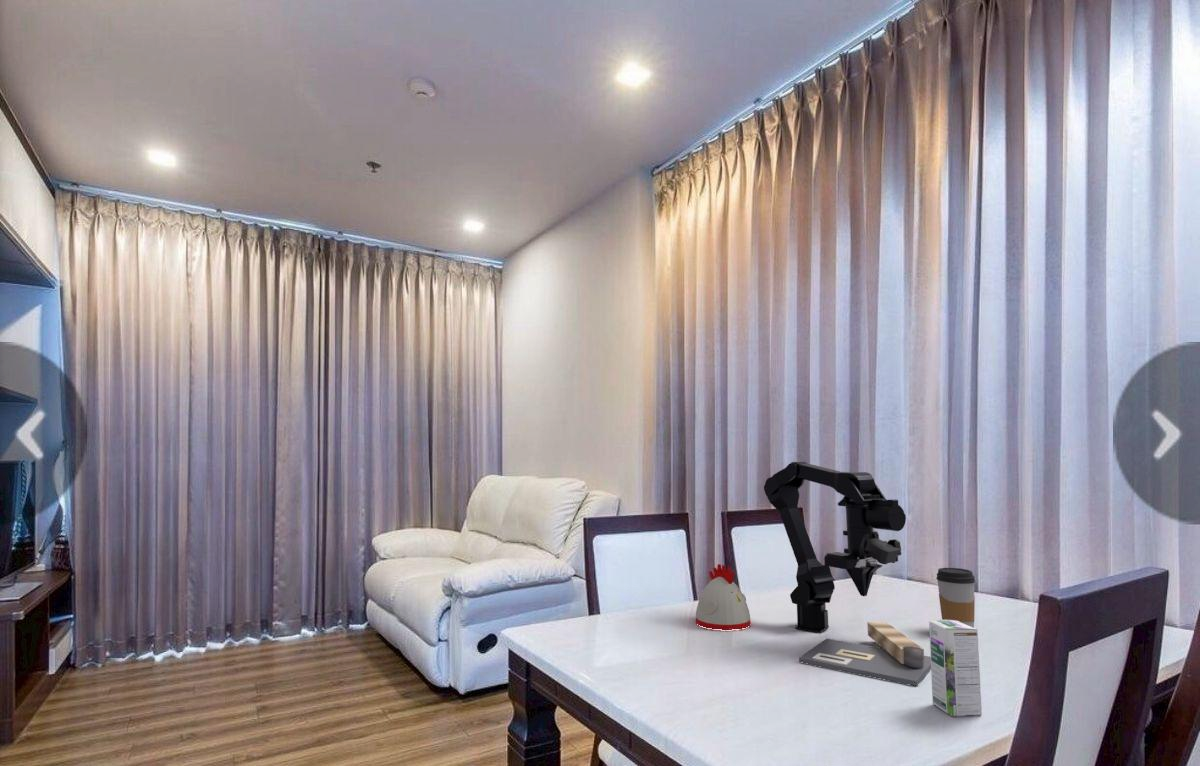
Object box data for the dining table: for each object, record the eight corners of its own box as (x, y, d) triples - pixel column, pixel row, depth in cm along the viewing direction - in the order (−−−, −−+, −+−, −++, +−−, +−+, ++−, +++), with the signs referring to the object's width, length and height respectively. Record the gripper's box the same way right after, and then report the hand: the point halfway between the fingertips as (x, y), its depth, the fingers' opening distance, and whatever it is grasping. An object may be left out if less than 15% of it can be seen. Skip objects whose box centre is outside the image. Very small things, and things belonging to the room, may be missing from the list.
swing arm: (867, 635, 152) (867, 622, 152) (887, 635, 151) (886, 622, 152) (905, 667, 130) (904, 651, 130) (928, 667, 130) (927, 651, 130)
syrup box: (931, 704, 115) (926, 619, 116) (962, 702, 116) (957, 618, 117) (951, 717, 109) (946, 628, 111) (984, 716, 110) (978, 627, 111)
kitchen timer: (726, 635, 158) (724, 571, 159) (684, 623, 169) (683, 564, 170) (761, 624, 167) (759, 564, 168) (720, 614, 177) (718, 558, 179)
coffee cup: (984, 640, 152) (980, 574, 153) (945, 638, 153) (941, 573, 155) (971, 630, 160) (967, 567, 161) (934, 628, 161) (931, 566, 163)
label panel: (799, 662, 137) (798, 656, 138) (826, 642, 151) (826, 637, 151) (917, 686, 123) (916, 679, 123) (936, 662, 137) (935, 656, 137)
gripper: (861, 533, 139) (866, 608, 138) (916, 527, 149) (921, 597, 147) (821, 528, 149) (824, 598, 147) (875, 522, 158) (878, 588, 157)
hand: (863, 595), depth 149 cm, fingers closed
